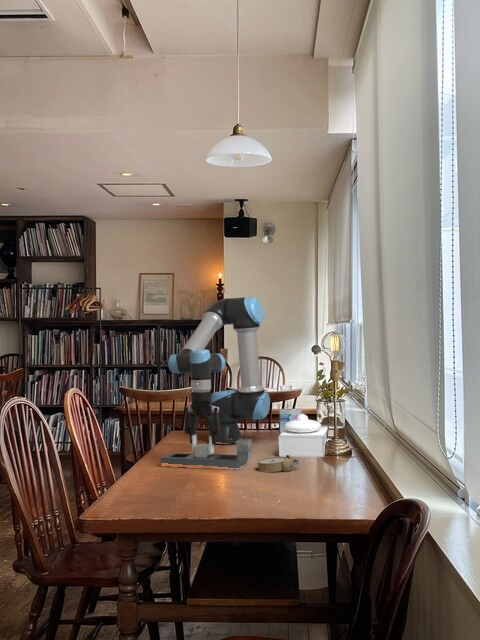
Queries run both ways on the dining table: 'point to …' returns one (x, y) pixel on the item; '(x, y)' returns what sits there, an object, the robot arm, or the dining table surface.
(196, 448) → the grey rectangular block
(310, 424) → the white box with dome
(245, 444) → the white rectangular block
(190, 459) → the grey metal flat frame
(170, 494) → the dining table surface
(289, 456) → the alarm clock
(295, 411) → the light bulb box
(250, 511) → the dining table surface
